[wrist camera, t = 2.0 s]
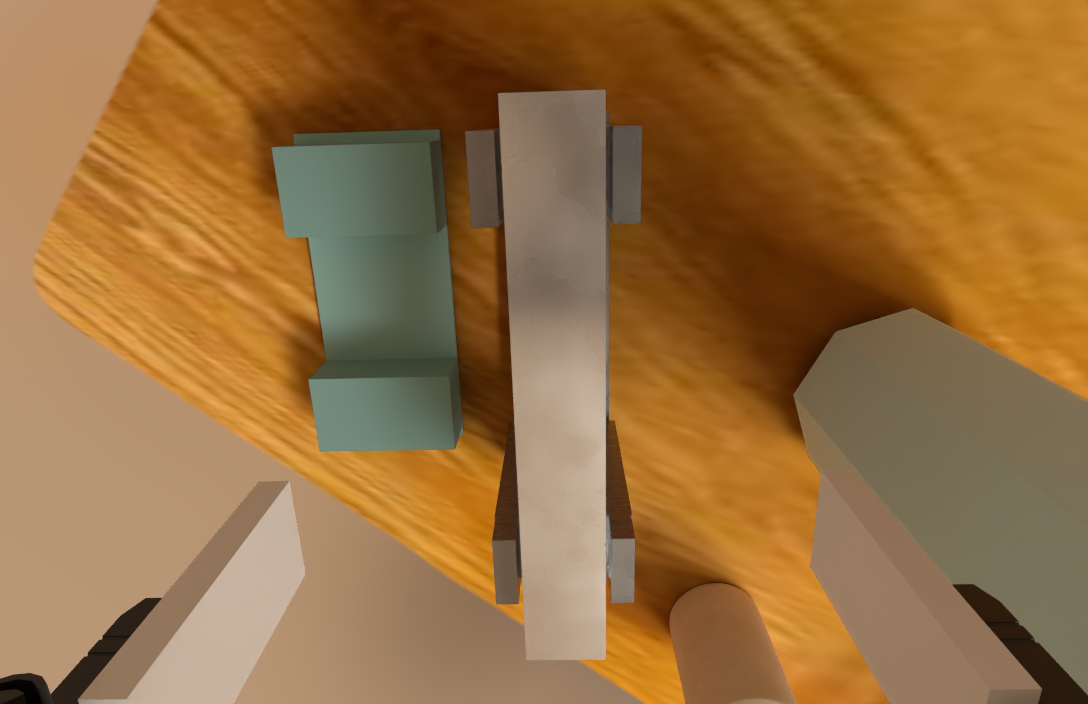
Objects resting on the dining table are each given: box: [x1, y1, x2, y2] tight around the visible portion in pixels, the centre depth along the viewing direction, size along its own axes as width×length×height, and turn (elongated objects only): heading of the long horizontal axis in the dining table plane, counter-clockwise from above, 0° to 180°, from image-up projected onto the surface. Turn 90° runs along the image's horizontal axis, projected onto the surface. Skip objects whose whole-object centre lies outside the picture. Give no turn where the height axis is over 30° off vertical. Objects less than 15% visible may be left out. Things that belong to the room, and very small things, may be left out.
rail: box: [498, 90, 606, 660], centre depth 23 cm, size 20×3×4 cm, turn 2°
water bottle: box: [793, 308, 1088, 695], centre depth 24 cm, size 10×10×25 cm
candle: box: [669, 583, 797, 704], centre depth 36 cm, size 6×6×10 cm
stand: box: [465, 112, 642, 604], centre depth 29 cm, size 19×6×12 cm, turn 2°
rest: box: [271, 129, 464, 452], centre depth 33 cm, size 16×7×3 cm, turn 2°
